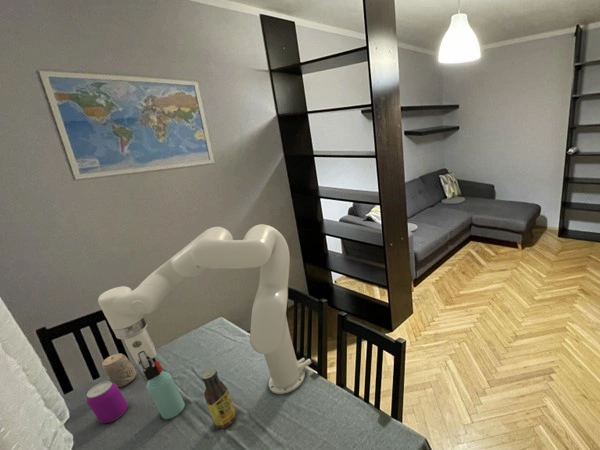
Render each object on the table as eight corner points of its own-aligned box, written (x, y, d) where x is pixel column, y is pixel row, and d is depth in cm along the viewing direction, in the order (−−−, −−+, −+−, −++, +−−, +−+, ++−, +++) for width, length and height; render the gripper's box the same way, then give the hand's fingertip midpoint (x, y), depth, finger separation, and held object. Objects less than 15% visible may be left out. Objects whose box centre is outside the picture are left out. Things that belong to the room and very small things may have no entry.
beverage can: (96, 429, 102) (79, 403, 98) (104, 410, 109) (88, 385, 104) (125, 417, 105) (110, 392, 101) (131, 400, 112) (117, 375, 107)
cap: (161, 365, 103) (158, 359, 102) (163, 372, 100) (160, 366, 99) (145, 373, 100) (142, 366, 99) (147, 380, 97) (143, 374, 96)
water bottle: (182, 397, 111) (162, 356, 103) (186, 409, 106) (165, 366, 99) (160, 410, 107) (137, 368, 99) (163, 423, 102) (140, 379, 95)
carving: (110, 387, 118) (95, 363, 113) (131, 372, 124) (119, 348, 120) (119, 392, 115) (105, 368, 111) (141, 376, 122) (129, 352, 117)
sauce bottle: (228, 431, 98) (208, 385, 90) (211, 428, 99) (190, 382, 92) (241, 411, 104) (224, 367, 96) (225, 409, 105) (206, 365, 98)
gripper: (149, 333, 89) (171, 379, 96) (142, 308, 101) (162, 351, 108) (115, 347, 85) (141, 395, 91) (112, 319, 96) (135, 363, 103)
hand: (152, 370), depth 100 cm, fingers open, 5 cm apart
